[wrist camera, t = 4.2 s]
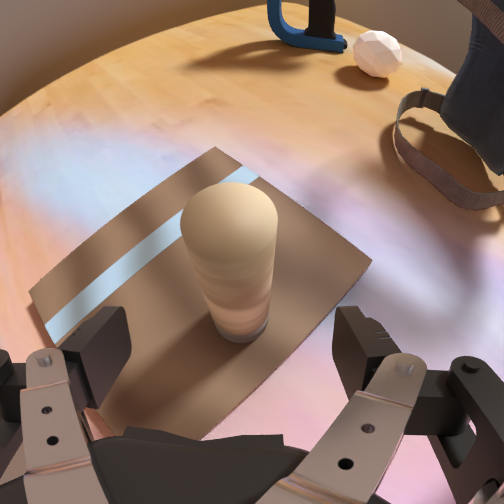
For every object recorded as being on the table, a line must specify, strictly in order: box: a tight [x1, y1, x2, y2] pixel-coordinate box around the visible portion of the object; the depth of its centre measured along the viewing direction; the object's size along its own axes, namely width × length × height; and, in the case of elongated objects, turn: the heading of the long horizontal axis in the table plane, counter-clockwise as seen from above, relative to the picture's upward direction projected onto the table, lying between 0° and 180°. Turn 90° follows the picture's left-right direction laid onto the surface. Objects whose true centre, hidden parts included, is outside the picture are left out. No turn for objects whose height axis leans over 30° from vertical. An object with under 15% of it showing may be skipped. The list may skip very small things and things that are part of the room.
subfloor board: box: [29, 147, 372, 441], centre depth 23 cm, size 22×18×2 cm
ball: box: [353, 31, 403, 78], centre depth 38 cm, size 8×8×8 cm
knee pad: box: [394, 0, 504, 210], centre depth 21 cm, size 18×20×25 cm
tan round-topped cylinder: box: [180, 182, 278, 344], centre depth 16 cm, size 4×4×11 cm
